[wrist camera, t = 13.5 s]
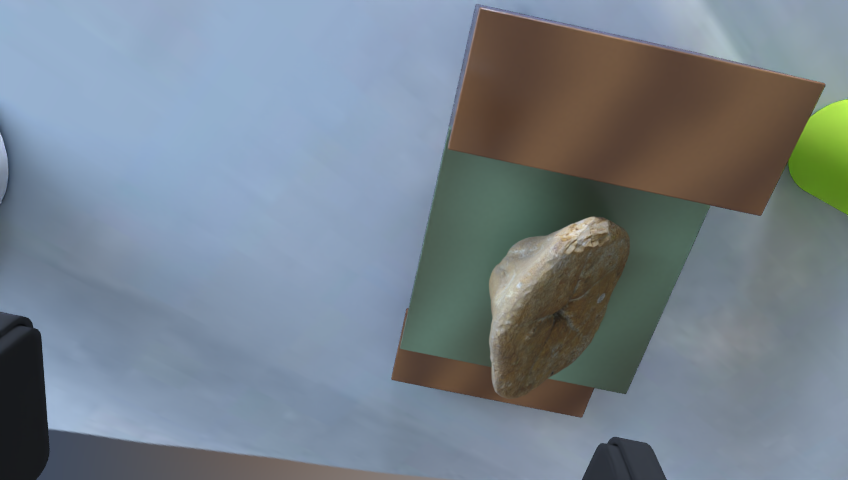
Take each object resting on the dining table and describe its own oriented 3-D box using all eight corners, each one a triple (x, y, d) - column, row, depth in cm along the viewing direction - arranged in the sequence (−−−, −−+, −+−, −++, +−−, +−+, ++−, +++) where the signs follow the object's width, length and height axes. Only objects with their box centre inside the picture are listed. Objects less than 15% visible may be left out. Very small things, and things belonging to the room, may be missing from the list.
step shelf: (395, 354, 40) (374, 473, 30) (472, 2, 30) (479, 6, 20) (573, 389, 41) (611, 519, 30) (706, 54, 31) (827, 83, 21)
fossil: (493, 433, 26) (521, 271, 20) (435, 375, 29) (445, 217, 23) (608, 348, 31) (659, 196, 25) (549, 305, 33) (582, 159, 28)
